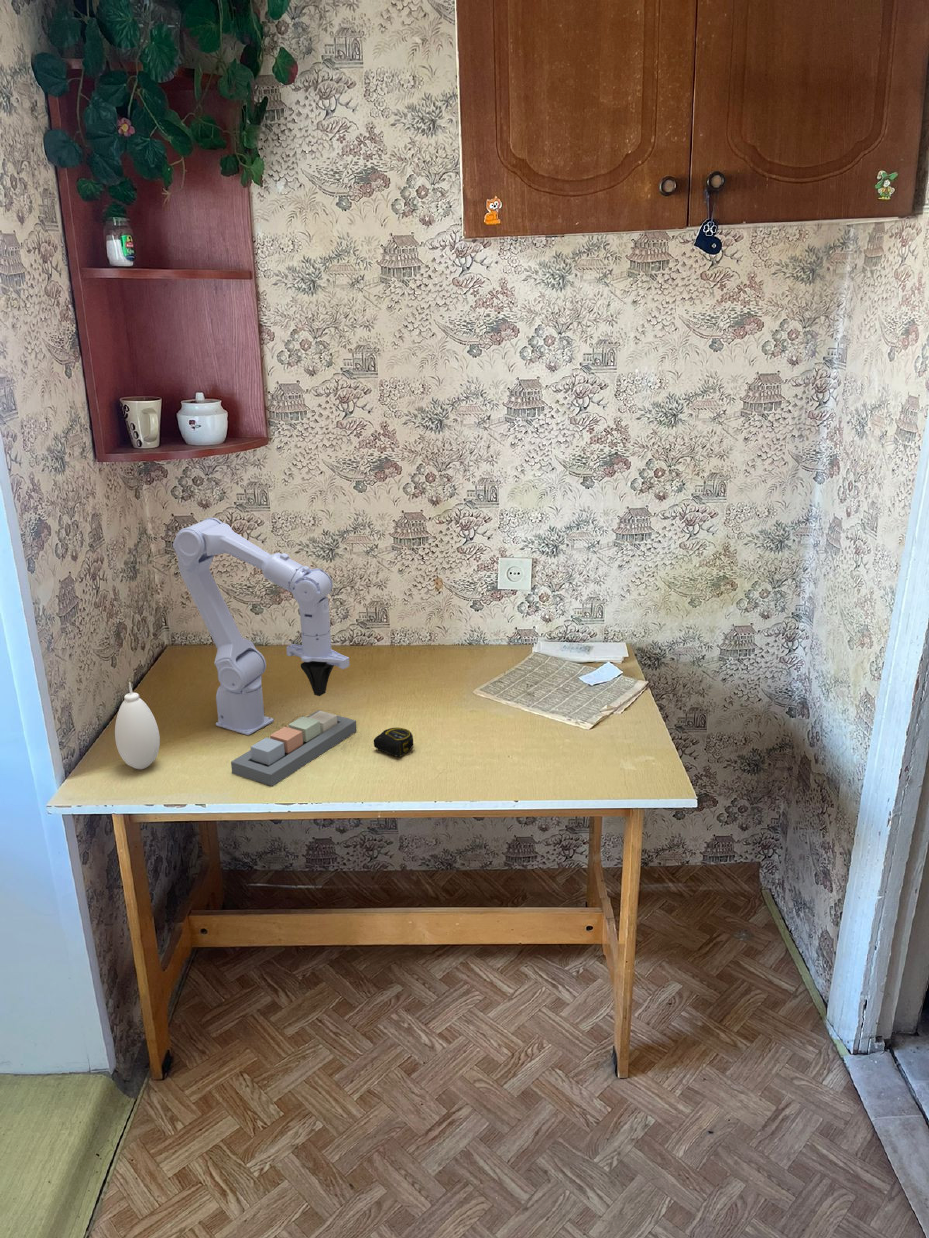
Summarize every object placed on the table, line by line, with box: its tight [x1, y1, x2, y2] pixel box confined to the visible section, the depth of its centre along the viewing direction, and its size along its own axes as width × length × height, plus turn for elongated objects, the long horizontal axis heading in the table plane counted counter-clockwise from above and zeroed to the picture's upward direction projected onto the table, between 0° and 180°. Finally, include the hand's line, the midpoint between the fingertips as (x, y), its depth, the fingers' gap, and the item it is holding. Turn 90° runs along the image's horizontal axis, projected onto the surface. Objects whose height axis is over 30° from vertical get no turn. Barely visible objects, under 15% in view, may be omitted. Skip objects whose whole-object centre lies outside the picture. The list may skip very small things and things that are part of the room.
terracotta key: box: [269, 726, 303, 753], centre depth 185 cm, size 4×4×3 cm
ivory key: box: [309, 710, 337, 735], centre depth 194 cm, size 4×4×3 cm
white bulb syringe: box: [114, 681, 161, 770], centre depth 180 cm, size 8×8×18 cm
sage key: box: [287, 715, 321, 742], centre depth 189 cm, size 4×4×3 cm
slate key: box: [250, 737, 285, 765], centre depth 180 cm, size 4×4×3 cm
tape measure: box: [373, 727, 414, 758], centre depth 188 cm, size 7×7×4 cm
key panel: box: [230, 709, 358, 788], centre depth 188 cm, size 10×26×2 cm, turn 149°
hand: (319, 693), depth 191 cm, fingers closed
